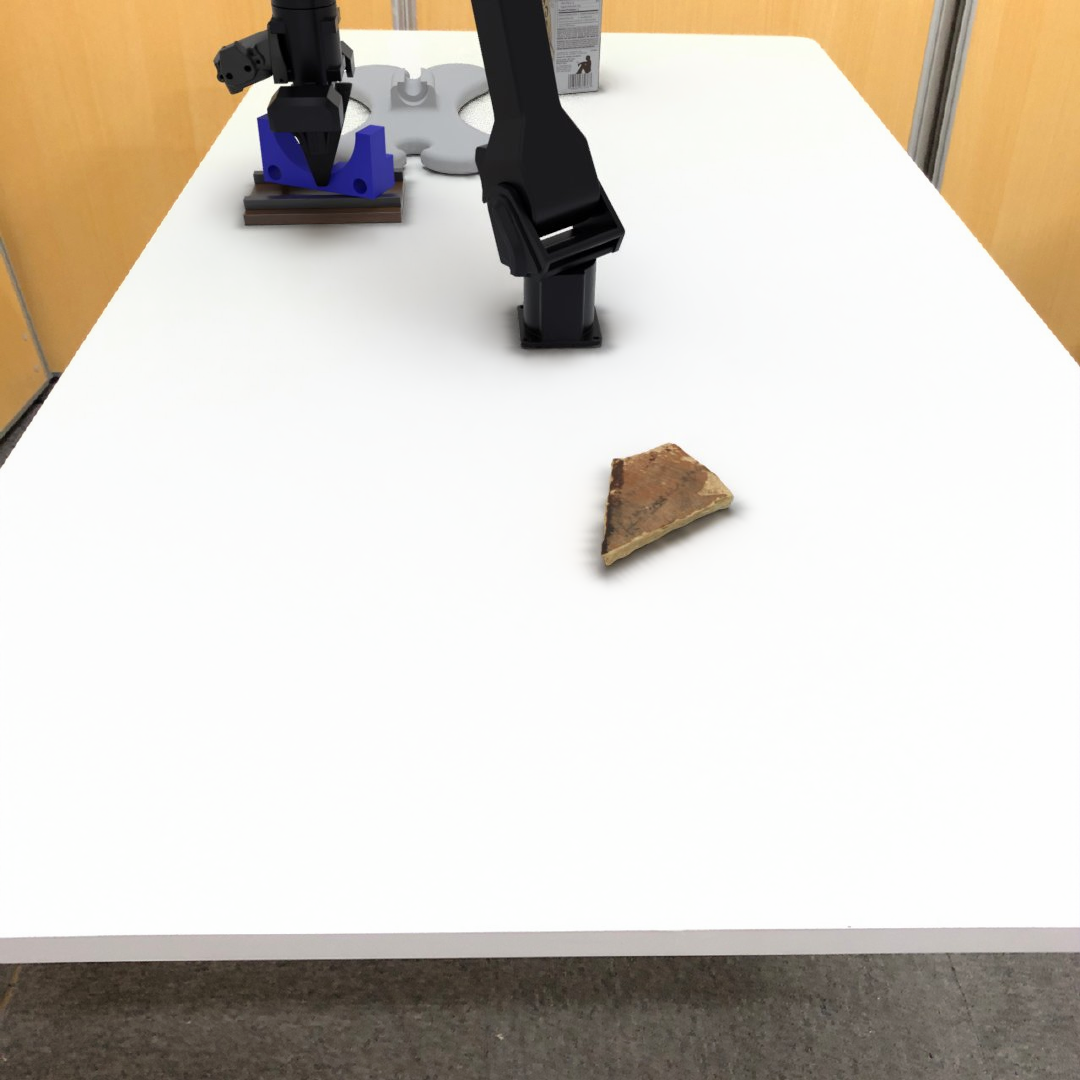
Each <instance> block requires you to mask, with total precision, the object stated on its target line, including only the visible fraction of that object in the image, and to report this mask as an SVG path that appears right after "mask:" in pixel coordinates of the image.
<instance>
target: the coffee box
mask: <svg viewBox="0 0 1080 1080" xmlns="http://www.w3.org/2000/svg"><path fill="white" fill-rule="evenodd" d="M542 3H543V8H544V14H545V20H546V25H547V31H548V37H549V42H550V48H551V54H552V59H553V65H554V71H555V76H556V82H557V88H558V94H559V95H564V94H575V93H589V92H598V91H599V85H600V62H601V61H600V60H601V44H602V43H601V42H602V23H603V5H604V0H542Z"/></svg>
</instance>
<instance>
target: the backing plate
mask: <svg viewBox="0 0 1080 1080" xmlns="http://www.w3.org/2000/svg"><path fill="white" fill-rule="evenodd" d="M252 177H253V183H254V185H253V188H252V190H251V194H250V195H245V196H244V198H243V199H242V200H243V201H242V202H243V206H244V212H243V215H242V216H243V223H244V226H255V225H257V226H258V225H261V226H262V225H264V226H265V225H304V224H305V225H307V224H308V225H309V224H353V223H354V224H356V223H357V224H358V223H359V224H360V223H361V224H362V223H400V222H403V210H404V209H403V208H404V198H405V187H406V186H405V185H406V178H405V177H406V176H405V172H404V167H402V168H394V183H395V185H394V186H393V187H391V188H390V189H388V190H387V191H385V192H384V193H382V194H381V195H379V196H378V197H376V198H375V199H368V198H362V197H356V196H350V195H344V194H338V193H332V192H326V191H320V190H315V189H309V188H303V187H297V186H291V185H285V184H279V183H273V182H267V181H264V174H263V170H253V173H252Z"/></svg>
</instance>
